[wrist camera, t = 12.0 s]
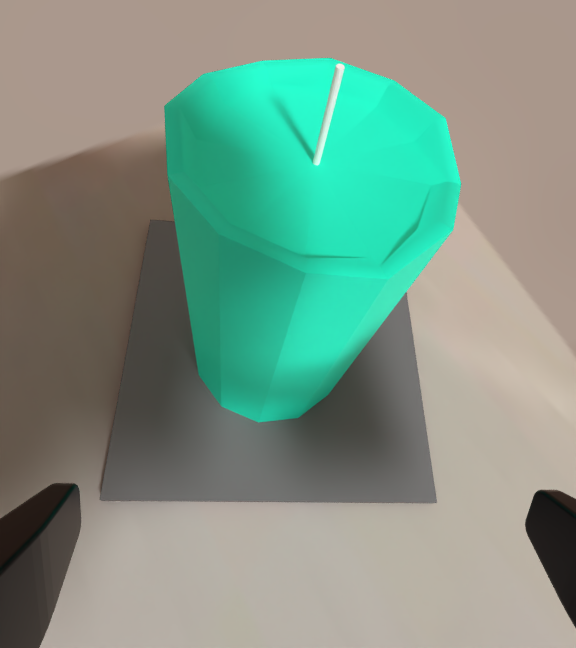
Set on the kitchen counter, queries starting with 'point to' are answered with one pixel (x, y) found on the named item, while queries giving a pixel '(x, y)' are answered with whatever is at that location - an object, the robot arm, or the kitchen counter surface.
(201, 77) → the candle
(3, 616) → the robot arm
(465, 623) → the kitchen counter surface
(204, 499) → the mat
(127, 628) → the kitchen counter surface
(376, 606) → the kitchen counter surface
